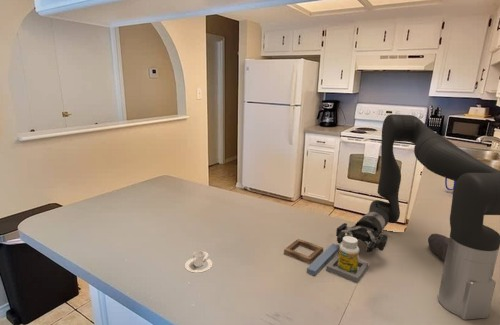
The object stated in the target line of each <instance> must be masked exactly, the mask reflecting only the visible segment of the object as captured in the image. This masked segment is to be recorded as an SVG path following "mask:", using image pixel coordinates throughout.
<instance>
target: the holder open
mask: <svg viewBox="0 0 500 325" xmlns="http://www.w3.org/2000/svg"><path fill="white" fill-rule="evenodd" d="M338 260H339V252H338V253H337V254H336V255H335V256H334V257H333V258H332V259H331V260H330V261H329V262H328V263H327V264H326V265H325V271H326V272H329V273H331V274H333V275H336V276H339V277H341V278H344V279H347V281H352V282H353V283H355V284H358V283H359V282H360V280H361V279H362V277H364V275H365V273H366V272H367V270H368V268H369V262H366V261H362V260H360V259H358V268H359V269H357V272H356V273H355V274H353V273H350V272H347V271H345V270H342V269H340V268H338Z"/></svg>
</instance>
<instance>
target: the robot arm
mask: <svg viewBox="0 0 500 325" xmlns="http://www.w3.org/2000/svg"><path fill="white" fill-rule="evenodd" d="M395 142H405V143H411V144H413V145H414V147H413V153H414V157H415V158H416V160H417V161H418V162H419V163H420V164H421V165H422V166H423V167H424V168H426V169H427V170H429V171H430V172H432V173H433V174H436V175H437V176H440V177H442V178H444V179H445V178H447V180H451V181H453V182H454V181H456V183H455V186H454V185H453V186H454V190H452V191H453V192H452V197H451V198H452V199H451V205H450V206H451V207H450V214H449V225H450V226H449V228H450V234H449V237H448V238H449V242H448V247H447V252H446V257H445V261H444V263H443V267H442V274H441V279H440V284H439V290H438V294H437V295H438V296H437V301H438V302H439V303H440V305H441V306H442V307H443V308H444V309H445V310H447V311H448V312H450V313H452V314H455V315H456V316H458V317H460V318H461V319H462V320H474V319H487V318H488V316H489V312H490V309H491V304H492V300H493V297H494V291H495V288H496V284H497V282H496V281H495V280H494V279H493V276H494V271H495V268H496V263H497V259H498V254H499V250H500V233H499V232H498V231H497V230H495V229H493V228H492V227H490V226H487V225H484V218H485V217H484V216H500V170H499V169H496V168H495V167H493V166H491V165H489V164H486V163H484V162H482V161H481V160H479V159H477V158H475V157H474V156H473V155H471V154H470V153H468V152H467V151H464V149H462V148H460V147H458V146H457V145H456V144H455V143H454V142H451V141H450V140H449V139H447V138H446V137H443V136H442V135H440V134H439V133H437V132H435V131H434V130H433V129H431V128H430V127H428V126H427V125H426V124H425V123H424V122H423V121H422V120H421V119H420V118H418V117H417V116H415V115H411V114H388V115H387V116H386V117H385V118H384V120H383V123H382V128H381V142H380V143H381V146H380V148H381V149H380V150H381V151H380V153H381V154H380V155H381V156H380V163H381V164H380V172H379V173H380V175H379V180H378V185H377V194H378V195H379V196H380V197H382V198H383V199H386V200H387V201H388V202H387V201H383V200H378V199H377V200H376V199H375V200H373V201H372V202H371V203H370V205H369V208H368V213H366V214H364V215H363V216H362V217H361V218H360V219H358V220H357V222H356V223H355V225H353V226H348V223H346V222H345V223H341V225H339V226H338V227H337V228H336V233H335V235H336V242H337V244H342V243H343V242H342V241H343V237H345V236H351V237H354V238H356V239H357V240H358V241H361V242H364V243H366V244H367V246H366V254H370V253H373V252H374V251H375V250H377V249H378V251H383V250H384V249H385V247H386V246H387V243H388V235H387V234H383V235H381V234H382V233H383V231H384V230H385V228H386V226H387V225H388V224H395V223H397V222H398V220H399V218H400V216H401V215H400V214H401V210H400V203H399V202H400V201H399V192H400V186H401V183H402V182H401V180H402V174H401V173H402V172H401V169H400V167H399V165H398V162H397V160H396V157H395V154H394V143H395Z"/></svg>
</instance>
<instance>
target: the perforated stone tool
mask: <svg viewBox="0 0 500 325" xmlns="http://www.w3.org/2000/svg"><path fill="white" fill-rule="evenodd" d="M427 242H428V246H429V248H430V250H431V251H432V252H433V253H434V254H435V255H436V256H437V257H439V258H440V259H441V260H442V261H444V262H445V257H446V252H447V247H448V242H449V237H448V236H446V235H443V234H439V233H431V234H429V236H428V238H427Z"/></svg>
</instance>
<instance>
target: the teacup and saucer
mask: <svg viewBox="0 0 500 325" xmlns="http://www.w3.org/2000/svg"><path fill="white" fill-rule="evenodd" d="M192 256H193V257H191V258H189V259H188V260H187V261H186V262H185V263H184V269H186V271H188V272H190V273H195V274H198V273H204V272H207V271H208V270H209V269H211V268H212V266H213V261H212V260H211V259H210V258H209V256H210V255H209V253H208V252H206V251H202V250H197V251H194V252H193V253H192ZM204 262H207V266H206V267H205V268H203V269H197V270H196V269H192V268H191V267H190V264H191V263H193V266H195V267H196V268H197V267H198V268H201V267H203V265H204Z"/></svg>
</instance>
